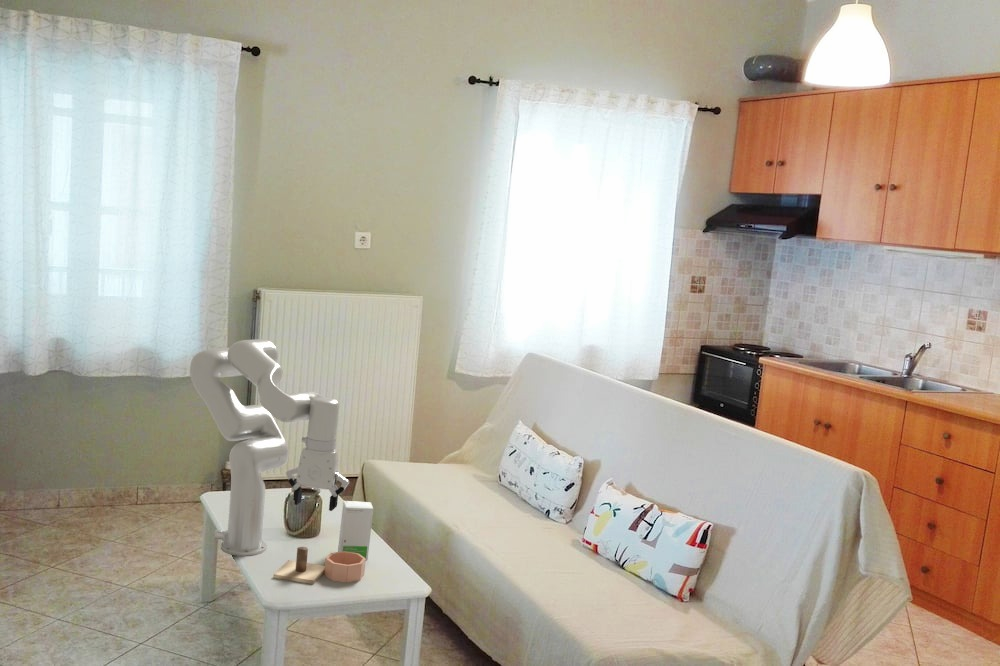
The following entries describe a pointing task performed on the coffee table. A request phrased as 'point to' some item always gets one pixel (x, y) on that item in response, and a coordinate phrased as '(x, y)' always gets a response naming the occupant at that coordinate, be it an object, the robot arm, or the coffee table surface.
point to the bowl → (345, 566)
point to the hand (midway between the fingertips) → (314, 506)
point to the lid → (300, 569)
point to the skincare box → (356, 527)
